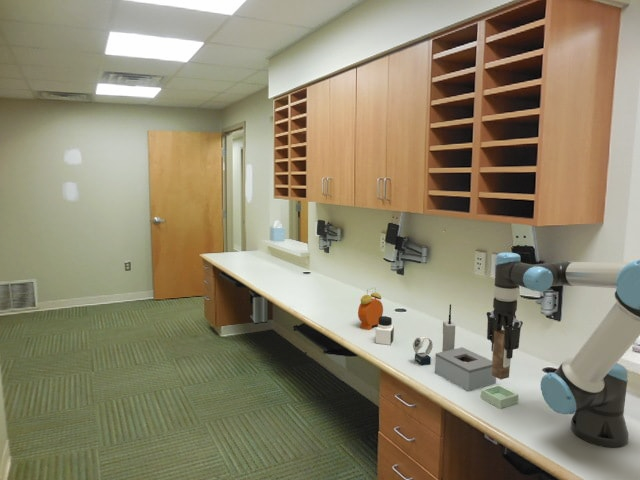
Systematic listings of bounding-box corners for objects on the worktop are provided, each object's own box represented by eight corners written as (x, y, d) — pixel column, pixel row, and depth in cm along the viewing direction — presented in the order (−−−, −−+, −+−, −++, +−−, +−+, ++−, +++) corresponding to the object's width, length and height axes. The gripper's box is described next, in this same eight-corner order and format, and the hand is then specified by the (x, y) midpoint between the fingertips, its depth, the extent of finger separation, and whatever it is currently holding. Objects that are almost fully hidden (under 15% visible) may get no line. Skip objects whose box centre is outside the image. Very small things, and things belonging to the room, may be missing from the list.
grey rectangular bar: (449, 359, 202) (452, 302, 198) (453, 363, 197) (456, 305, 193) (441, 359, 202) (443, 302, 198) (444, 364, 197) (447, 305, 193)
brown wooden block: (509, 377, 164) (512, 333, 162) (500, 379, 163) (503, 334, 160) (499, 372, 168) (502, 329, 165) (491, 375, 166) (494, 331, 164)
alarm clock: (373, 322, 250) (374, 285, 247) (383, 324, 246) (383, 287, 243) (357, 328, 241) (357, 289, 238) (366, 331, 236) (367, 291, 233)
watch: (410, 361, 200) (411, 336, 198) (427, 358, 202) (428, 334, 201) (416, 366, 195) (417, 340, 193) (434, 364, 197) (435, 338, 195)
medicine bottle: (390, 345, 218) (391, 320, 216) (375, 343, 220) (375, 318, 218) (393, 340, 224) (394, 315, 223) (378, 338, 227) (379, 313, 225)
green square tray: (517, 403, 165) (518, 394, 164) (500, 408, 161) (500, 400, 160) (498, 392, 172) (498, 384, 172) (480, 397, 168) (481, 389, 168)
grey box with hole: (495, 383, 180) (497, 363, 178) (468, 391, 173) (469, 370, 172) (461, 365, 195) (462, 347, 194) (434, 372, 189) (435, 353, 188)
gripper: (534, 303, 155) (529, 371, 159) (493, 291, 170) (489, 353, 174) (518, 306, 152) (513, 375, 155) (478, 293, 167) (474, 357, 170)
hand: (500, 363), depth 165 cm, fingers closed on brown wooden block, 4 cm apart
